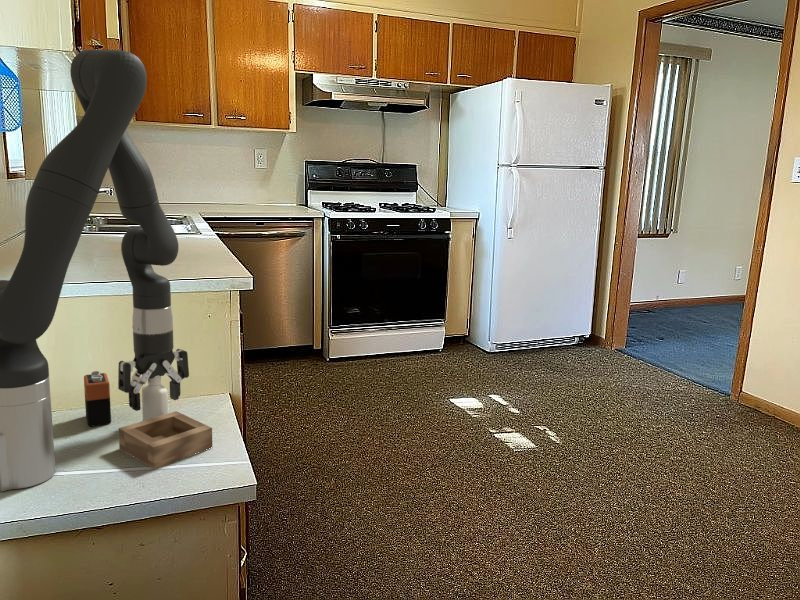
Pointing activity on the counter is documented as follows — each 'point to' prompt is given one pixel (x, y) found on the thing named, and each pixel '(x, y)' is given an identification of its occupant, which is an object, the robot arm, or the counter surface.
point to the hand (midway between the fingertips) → (155, 404)
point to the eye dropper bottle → (154, 399)
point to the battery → (97, 399)
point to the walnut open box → (165, 439)
